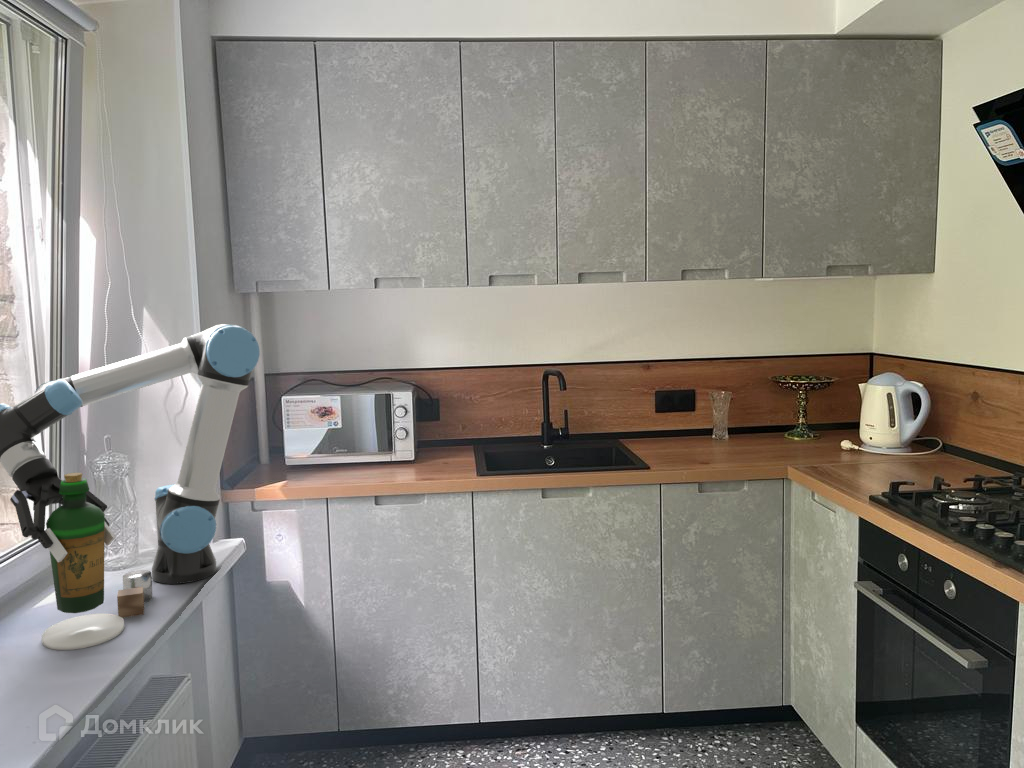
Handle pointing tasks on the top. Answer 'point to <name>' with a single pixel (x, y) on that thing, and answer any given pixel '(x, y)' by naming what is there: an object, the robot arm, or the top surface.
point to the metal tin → (139, 582)
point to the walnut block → (130, 602)
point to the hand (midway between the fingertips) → (88, 549)
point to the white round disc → (82, 631)
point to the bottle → (78, 548)
